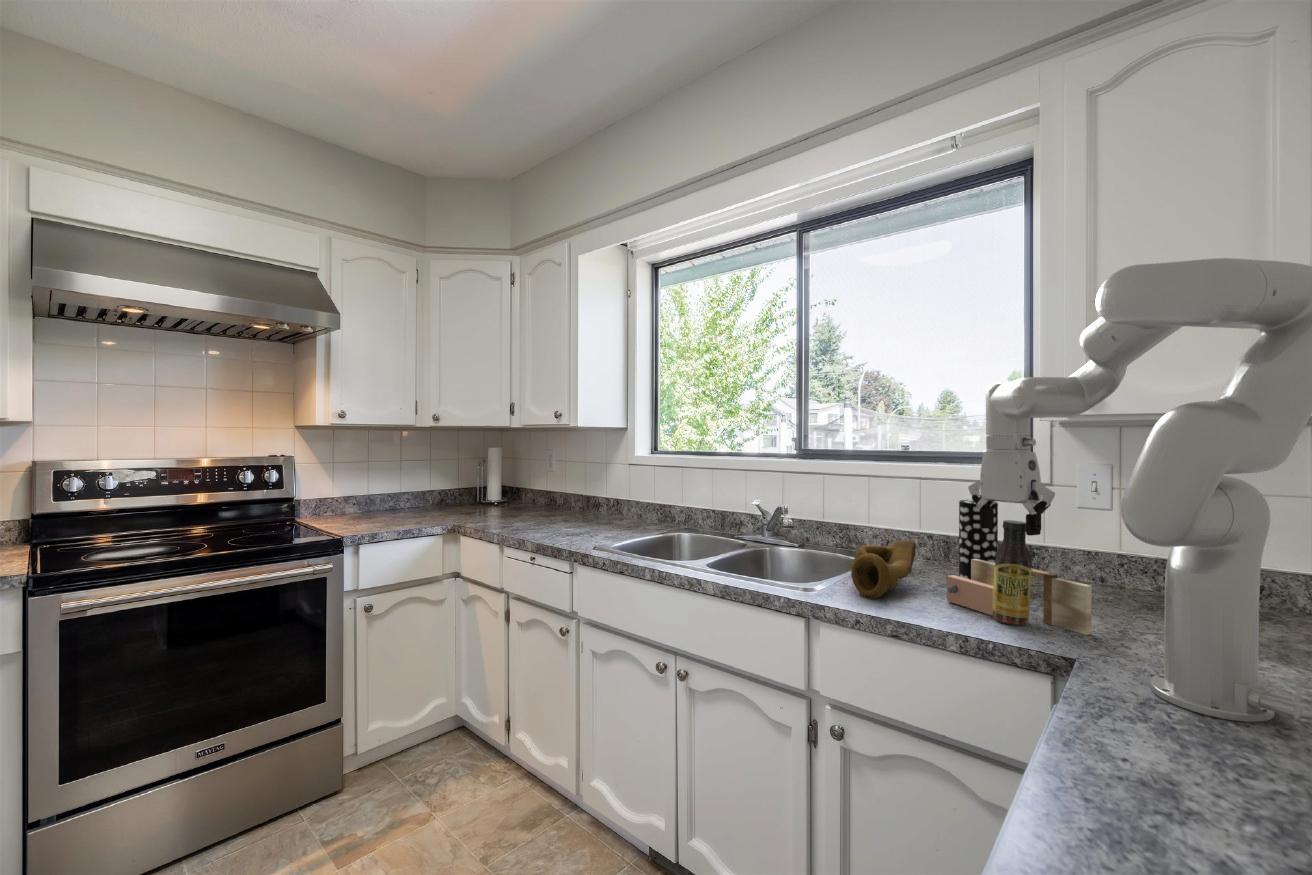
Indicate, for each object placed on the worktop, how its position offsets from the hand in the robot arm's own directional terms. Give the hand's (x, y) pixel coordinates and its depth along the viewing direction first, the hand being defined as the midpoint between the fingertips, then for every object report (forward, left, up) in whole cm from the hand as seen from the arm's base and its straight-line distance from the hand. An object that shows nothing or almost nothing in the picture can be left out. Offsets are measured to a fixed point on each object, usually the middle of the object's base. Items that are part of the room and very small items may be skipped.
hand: (1009, 531), depth 114 cm
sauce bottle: (0, 0, -18) cm, 18 cm away
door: (+8, 0, -18) cm, 20 cm away
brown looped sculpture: (+29, +4, -18) cm, 35 cm away
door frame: (+1, -6, -18) cm, 19 cm away
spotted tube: (+22, -19, -18) cm, 34 cm away
